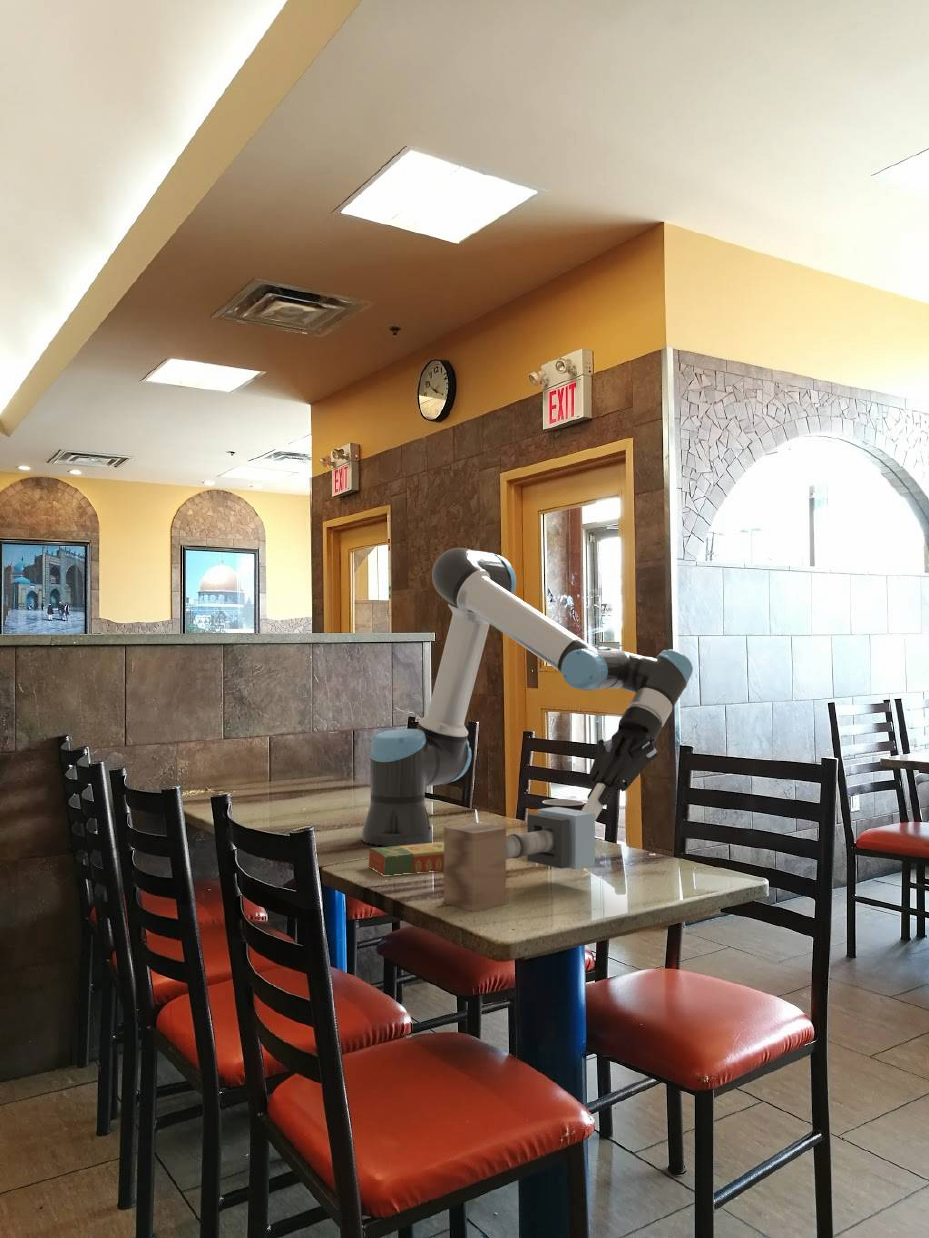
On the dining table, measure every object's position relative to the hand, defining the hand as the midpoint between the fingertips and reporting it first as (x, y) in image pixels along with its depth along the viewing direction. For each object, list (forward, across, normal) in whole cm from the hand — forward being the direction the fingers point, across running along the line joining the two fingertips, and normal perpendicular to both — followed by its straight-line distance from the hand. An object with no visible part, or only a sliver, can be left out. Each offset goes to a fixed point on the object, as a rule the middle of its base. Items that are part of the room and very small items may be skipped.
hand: (587, 816), depth 168 cm
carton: (+20, +27, +4) cm, 34 cm away
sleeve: (+9, +1, -2) cm, 9 cm away
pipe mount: (+18, +1, +3) cm, 18 cm away
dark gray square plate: (+11, +1, +1) cm, 12 cm away
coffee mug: (-4, +21, -20) cm, 29 cm away
